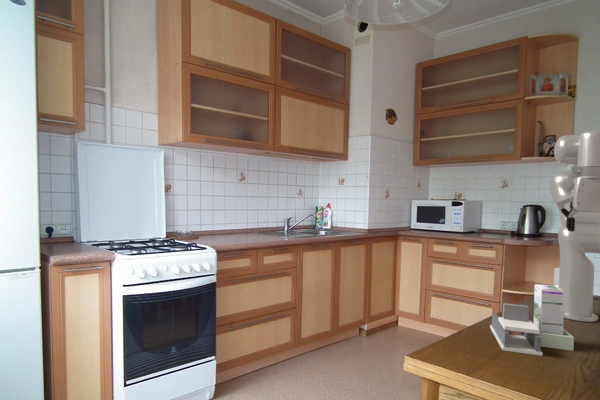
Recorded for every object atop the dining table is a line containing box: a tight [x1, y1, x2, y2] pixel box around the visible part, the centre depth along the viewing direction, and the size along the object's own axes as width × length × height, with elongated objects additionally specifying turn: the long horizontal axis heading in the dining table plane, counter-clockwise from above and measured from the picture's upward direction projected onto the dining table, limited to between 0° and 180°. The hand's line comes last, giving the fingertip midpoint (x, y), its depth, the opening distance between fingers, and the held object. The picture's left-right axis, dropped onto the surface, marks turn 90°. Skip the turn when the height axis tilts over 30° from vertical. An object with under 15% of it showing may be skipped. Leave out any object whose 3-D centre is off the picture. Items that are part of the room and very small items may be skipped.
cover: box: [498, 302, 540, 334], centre depth 102 cm, size 8×8×5 cm
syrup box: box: [532, 284, 565, 335], centre depth 105 cm, size 6×6×14 cm
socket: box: [539, 327, 575, 352], centre depth 105 cm, size 9×9×4 cm
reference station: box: [489, 312, 543, 356], centre depth 106 cm, size 18×9×5 cm, turn 163°
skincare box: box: [552, 267, 560, 286], centre depth 154 cm, size 6×4×12 cm
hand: (590, 232), depth 111 cm, fingers open, 9 cm apart
